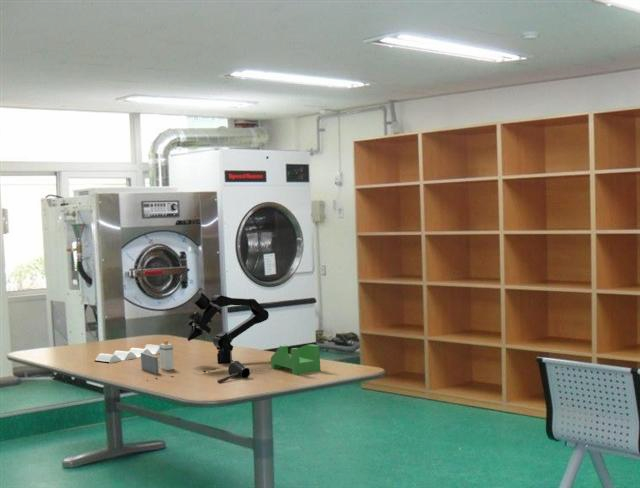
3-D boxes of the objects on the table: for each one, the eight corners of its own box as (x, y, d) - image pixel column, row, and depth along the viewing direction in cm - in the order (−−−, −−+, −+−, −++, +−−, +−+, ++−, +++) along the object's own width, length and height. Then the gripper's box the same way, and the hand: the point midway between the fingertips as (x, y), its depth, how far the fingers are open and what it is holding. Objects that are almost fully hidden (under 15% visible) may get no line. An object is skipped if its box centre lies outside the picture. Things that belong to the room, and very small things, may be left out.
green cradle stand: (320, 371, 390) (319, 345, 390) (295, 375, 384) (293, 349, 383) (296, 365, 411) (294, 340, 411) (271, 368, 405) (270, 343, 404)
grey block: (167, 367, 423) (166, 349, 423) (183, 372, 406) (181, 353, 406) (141, 371, 416) (140, 352, 416) (156, 376, 399) (155, 357, 399)
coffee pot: (241, 373, 391) (252, 378, 385) (209, 385, 380) (220, 390, 374) (240, 358, 390) (251, 363, 383) (208, 369, 378) (219, 374, 372)
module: (168, 367, 417) (166, 339, 417) (174, 369, 411) (172, 340, 410) (160, 368, 415) (159, 340, 414) (166, 370, 409) (164, 341, 408)
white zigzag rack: (93, 362, 456) (92, 353, 456) (147, 353, 481) (146, 344, 481) (107, 364, 447) (106, 355, 447) (161, 354, 472) (160, 345, 472)
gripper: (188, 304, 429) (169, 328, 423) (203, 306, 413) (183, 331, 407) (204, 318, 433) (185, 342, 428) (219, 321, 417) (199, 346, 412)
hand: (188, 340), depth 418 cm, fingers closed
